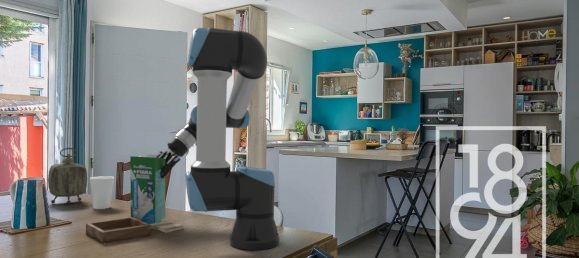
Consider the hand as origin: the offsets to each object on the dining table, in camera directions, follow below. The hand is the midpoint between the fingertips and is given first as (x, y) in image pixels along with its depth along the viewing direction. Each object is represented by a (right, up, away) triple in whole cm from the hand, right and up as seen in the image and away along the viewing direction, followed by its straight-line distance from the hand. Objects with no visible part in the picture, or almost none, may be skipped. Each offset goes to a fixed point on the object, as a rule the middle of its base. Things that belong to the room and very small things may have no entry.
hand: (138, 188), depth 146 cm
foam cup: (-26, -13, +27) cm, 39 cm away
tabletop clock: (-45, -12, +35) cm, 58 cm away
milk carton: (+3, -12, +1) cm, 13 cm away
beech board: (+12, -13, -6) cm, 19 cm away
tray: (-1, -13, -15) cm, 20 cm away
